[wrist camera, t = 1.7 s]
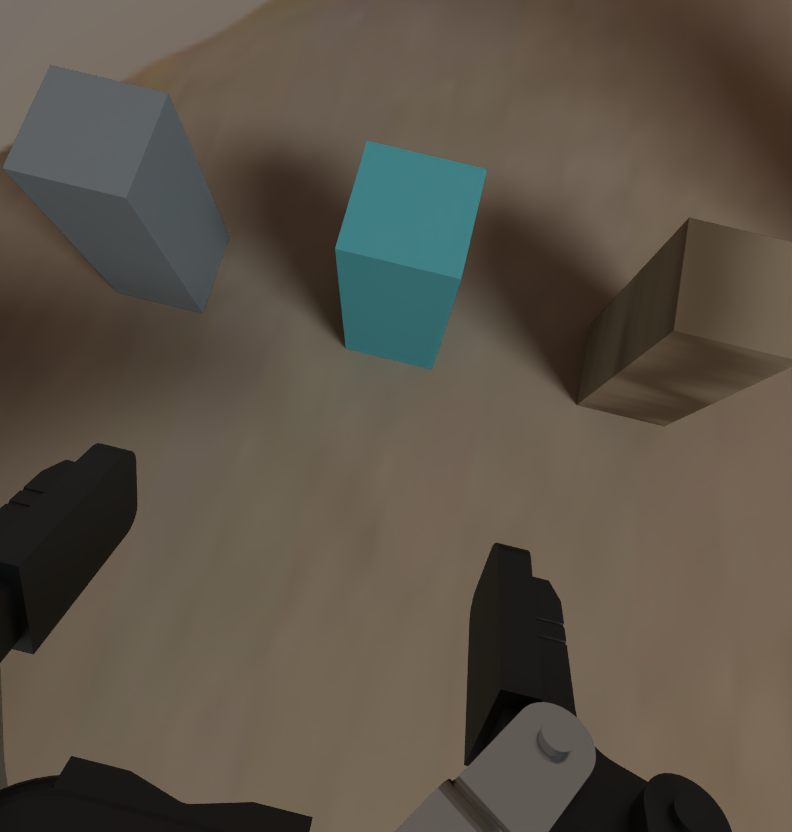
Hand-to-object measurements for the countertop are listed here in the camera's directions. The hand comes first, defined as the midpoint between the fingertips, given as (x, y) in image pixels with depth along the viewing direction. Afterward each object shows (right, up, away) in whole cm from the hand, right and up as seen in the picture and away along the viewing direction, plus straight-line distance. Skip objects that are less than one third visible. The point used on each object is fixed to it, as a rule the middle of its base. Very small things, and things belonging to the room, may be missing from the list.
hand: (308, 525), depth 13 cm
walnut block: (+14, +5, +18) cm, 23 cm away
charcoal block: (-10, +10, +18) cm, 23 cm away
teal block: (+2, +7, +18) cm, 19 cm away
